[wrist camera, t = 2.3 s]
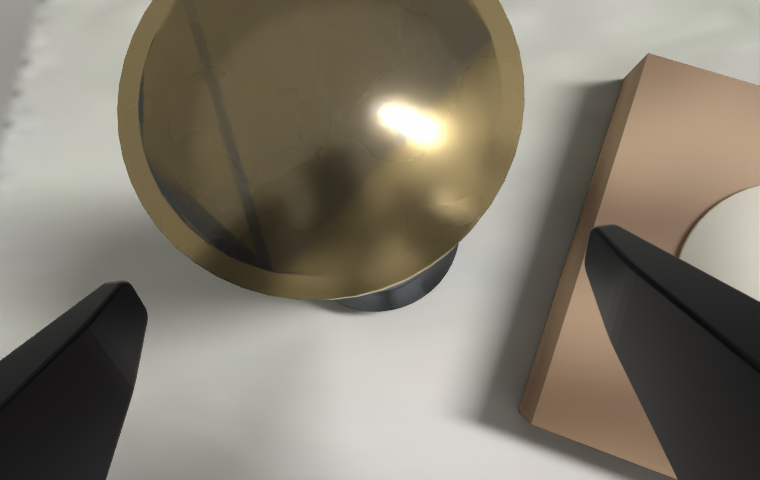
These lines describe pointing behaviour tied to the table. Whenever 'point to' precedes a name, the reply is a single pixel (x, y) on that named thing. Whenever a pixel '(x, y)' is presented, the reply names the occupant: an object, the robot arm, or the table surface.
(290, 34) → the housing
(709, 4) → the table surface
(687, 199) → the stand
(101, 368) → the robot arm
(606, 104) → the table surface
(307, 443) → the table surface
